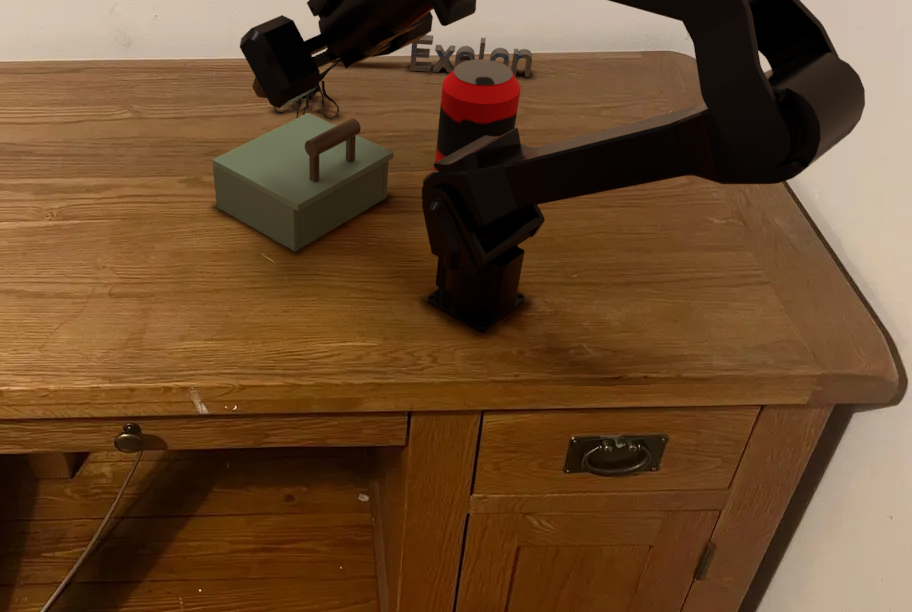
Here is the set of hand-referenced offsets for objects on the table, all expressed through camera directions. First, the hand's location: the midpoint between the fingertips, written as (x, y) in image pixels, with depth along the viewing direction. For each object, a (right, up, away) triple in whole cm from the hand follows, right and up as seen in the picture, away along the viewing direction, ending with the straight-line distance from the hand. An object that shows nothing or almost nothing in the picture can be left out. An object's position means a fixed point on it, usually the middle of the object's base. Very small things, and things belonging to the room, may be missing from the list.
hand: (292, 74), depth 85 cm
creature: (+1, +4, +24) cm, 25 cm away
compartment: (+1, -10, +10) cm, 14 cm away
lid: (+1, -6, +6) cm, 9 cm away
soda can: (+18, -7, +12) cm, 23 cm away
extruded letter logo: (+17, +12, +32) cm, 38 cm away
